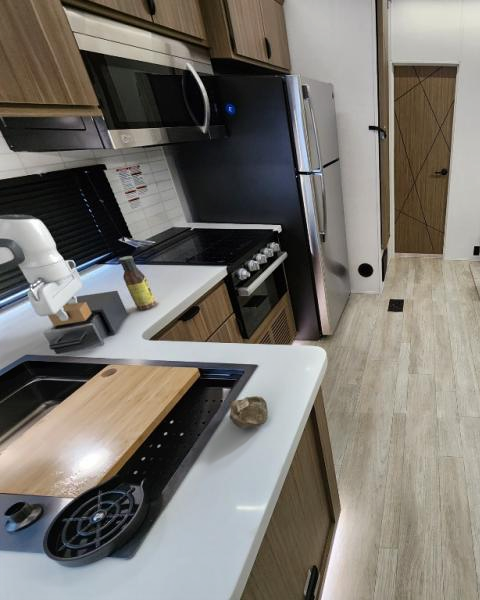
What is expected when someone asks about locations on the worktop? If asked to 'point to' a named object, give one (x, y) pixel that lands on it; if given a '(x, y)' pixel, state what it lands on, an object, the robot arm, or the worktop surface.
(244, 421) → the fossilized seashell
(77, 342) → the drawer
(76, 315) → the block
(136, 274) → the sauce bottle
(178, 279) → the worktop surface
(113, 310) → the gray drawer cabinet
